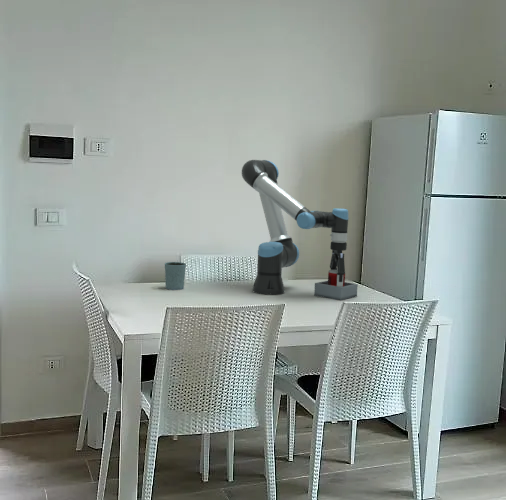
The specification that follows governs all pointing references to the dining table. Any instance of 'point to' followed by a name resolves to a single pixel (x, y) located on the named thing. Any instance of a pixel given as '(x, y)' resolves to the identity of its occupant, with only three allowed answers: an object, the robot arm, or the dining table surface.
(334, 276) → the canned food
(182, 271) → the blue-grey cup
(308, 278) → the dining table surface
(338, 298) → the bin
